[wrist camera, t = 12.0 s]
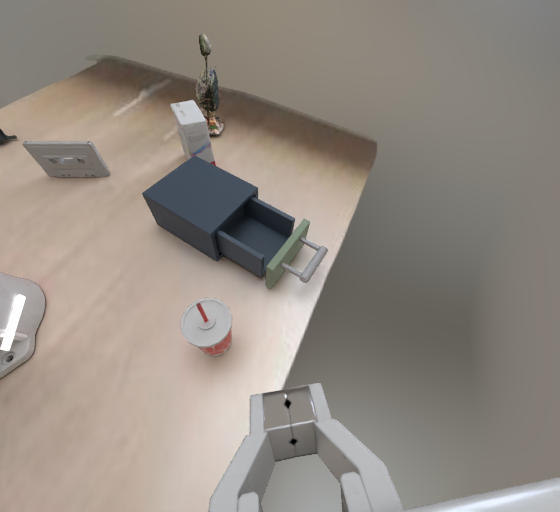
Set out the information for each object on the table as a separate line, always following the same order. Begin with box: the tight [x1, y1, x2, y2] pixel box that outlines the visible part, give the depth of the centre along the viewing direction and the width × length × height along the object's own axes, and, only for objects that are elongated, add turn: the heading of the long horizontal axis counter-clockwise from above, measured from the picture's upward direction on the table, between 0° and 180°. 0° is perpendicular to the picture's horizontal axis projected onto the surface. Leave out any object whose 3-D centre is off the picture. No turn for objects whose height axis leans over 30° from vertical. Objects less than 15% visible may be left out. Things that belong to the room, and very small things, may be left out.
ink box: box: [171, 100, 216, 166], centre depth 55 cm, size 9×5×12 cm, turn 28°
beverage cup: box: [180, 298, 232, 356], centre depth 33 cm, size 6×6×14 cm
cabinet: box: [142, 155, 258, 261], centre depth 48 cm, size 15×13×8 cm
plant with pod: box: [195, 34, 225, 136], centre depth 60 cm, size 8×11×20 cm
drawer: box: [214, 196, 328, 289], centre depth 44 cm, size 18×11×6 cm, turn 58°
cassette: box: [23, 141, 110, 177], centre depth 52 cm, size 12×2×8 cm, turn 96°
